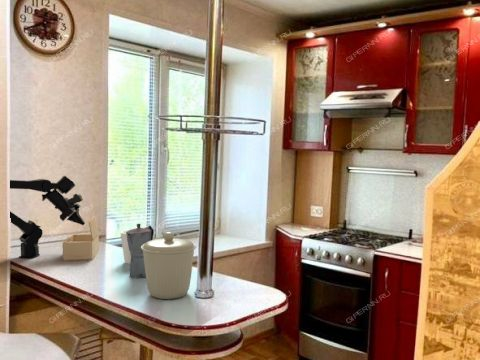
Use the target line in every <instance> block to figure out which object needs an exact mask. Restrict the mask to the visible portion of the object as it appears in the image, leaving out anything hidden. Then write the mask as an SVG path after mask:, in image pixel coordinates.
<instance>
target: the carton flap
mask: <svg viewBox="0 0 480 360" xmlns="http://www.w3.org/2000/svg"><path fill="white" fill-rule="evenodd" d="M88 227H89V231H90V234H91V237H92V240H93V239H94V238H95V237H96V236H97V235H98V234H99V235H100V233H99V227H98V223H97V217H96V215H95V216H93V217H92V218H90V220H89V221H88Z"/></svg>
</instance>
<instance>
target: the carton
mask: <svg viewBox="0 0 480 360" xmlns="http://www.w3.org/2000/svg"><path fill="white" fill-rule="evenodd" d="M99 251H100V233H99V234H98V235H97V236H96V237H95V238H94V239H93V240H92V237H91V233H78V234H77V233H74V234H71V235H70V236H68V237H67V238H66V239H64V241H63V242H62V259H63V261H64V262H65V261H93V260H94V258H95V257H96V255H98V253H99Z"/></svg>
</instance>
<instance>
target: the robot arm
mask: <svg viewBox="0 0 480 360" xmlns="http://www.w3.org/2000/svg"><path fill="white" fill-rule="evenodd" d="M9 180H10V190H11V189H13V190H14V189H15V190H30V191H31V190H32V191H35V192H41V193H43V194H41V201H42V202H44V201H46V200H47V201H49V203H51V205H53V206H54V208H55V210H58V211H60V213H61V214H59V219H60V220H61V221H62V222H64V221H65V220H66V221H70V222H72V223H73V222H74V223H76V224H79V225H81V226H84V225H85V224H86V223H85V221H84V219H83V217H82V216H81V214H80V208H81V205H80V204H79V203H80V202H83V200H84V198H83V197H82V195H81V194H79V193H75V194H72V195H73V196H72V197H71V198H69V197H65V196H63V195H67V194H68V193H69V192H70V191H72V189H73V188H74V187H75V186H76V184H75V183H74V181H73V180H71V179H70V178H69V177H67V176H66V175H63V176H62V177H61V178H60V179H59V180H58V181H57V182H51V180H49V179H46V178H45V179H44V178H38V179H37V178H36V179H31V180H18V179H9ZM9 211H10V218H11V222H10V223H11V224H12V225H13V226H15V227H17V228H18V229H19V230H20V231H21V232H22V234H21V235H20V236H19V240H20V255H19V256H18V258H19V259H20V258H23V259H33V258H36V257H38V256H40V255H41V254H40V247H39V245H38V244H39V240H40V239H41V238H42V237H43V234H44V233H43V230H42V228H41V225H38V224H37V223H35V222H34V221H33V220H30V219H29V220H28V221H25V220H24V219H22V218H21V217H20V216H18V215H16V214H15V213H13V212H12V211H11V210H9Z"/></svg>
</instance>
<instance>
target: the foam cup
mask: <svg viewBox="0 0 480 360" xmlns="http://www.w3.org/2000/svg"><path fill="white" fill-rule="evenodd" d="M129 230H130V229H128V230H122V231H120V239H121V246H122V252H123V254H122V255H123V260H124V263H125V264H127V263H128V265H130V262H131V255H130V251H129V247H128V241H127V235H126V232H127V231H129Z"/></svg>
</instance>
